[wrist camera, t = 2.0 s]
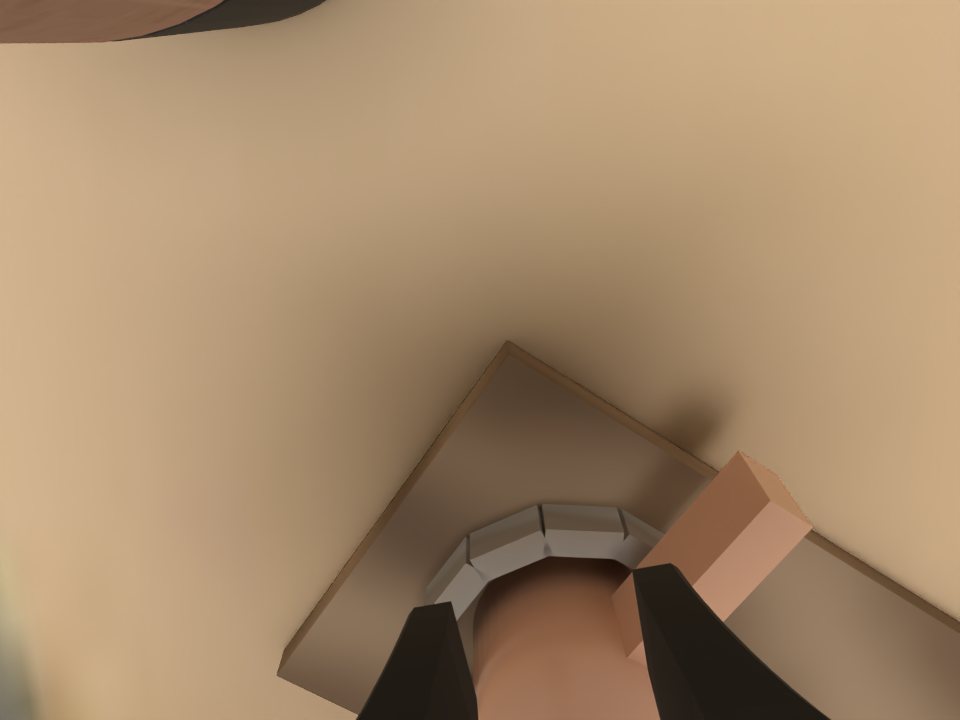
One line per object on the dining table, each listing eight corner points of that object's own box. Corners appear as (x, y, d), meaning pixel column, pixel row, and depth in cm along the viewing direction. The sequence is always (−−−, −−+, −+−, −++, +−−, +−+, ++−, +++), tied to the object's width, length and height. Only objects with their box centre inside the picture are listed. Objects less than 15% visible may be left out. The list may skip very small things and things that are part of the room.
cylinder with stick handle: (583, 722, 25) (621, 946, 19) (437, 647, 24) (427, 860, 17) (810, 477, 22) (943, 649, 16) (655, 377, 20) (733, 522, 14)
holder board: (823, 914, 30) (849, 980, 27) (283, 651, 25) (267, 707, 23) (1081, 698, 26) (1133, 755, 24) (507, 340, 21) (511, 373, 19)
